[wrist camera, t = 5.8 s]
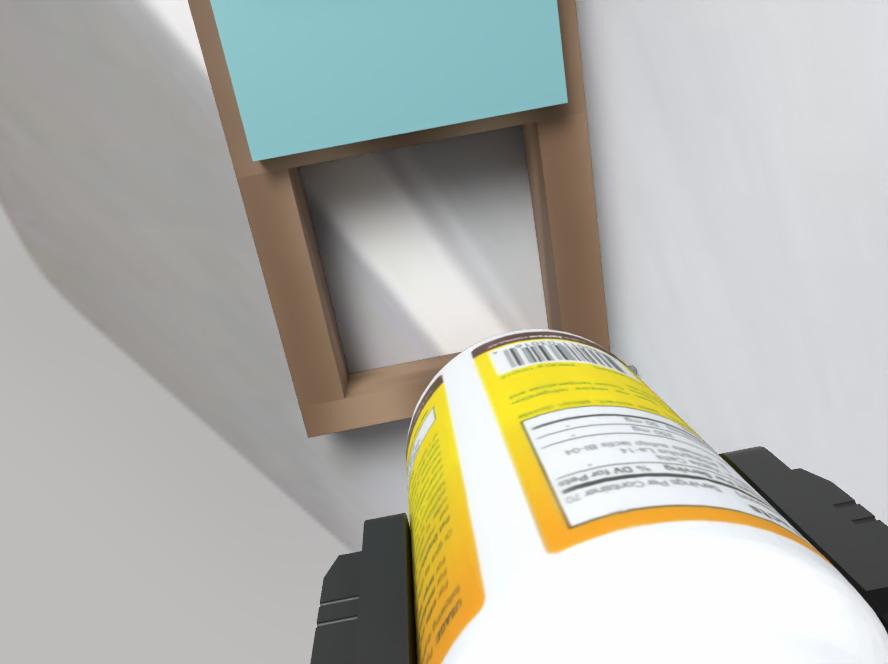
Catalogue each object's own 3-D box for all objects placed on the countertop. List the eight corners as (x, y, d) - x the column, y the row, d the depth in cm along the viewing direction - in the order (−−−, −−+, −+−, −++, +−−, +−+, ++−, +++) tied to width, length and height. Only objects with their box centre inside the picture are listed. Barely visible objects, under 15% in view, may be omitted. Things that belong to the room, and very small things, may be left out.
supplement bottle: (486, 575, 16) (641, 1308, 6) (357, 406, 14) (273, 1038, 4) (682, 460, 15) (1214, 1062, 5) (572, 271, 13) (1051, 640, 4)
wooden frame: (535, -166, 24) (554, -206, 21) (592, 355, 31) (612, 376, 28) (178, -104, 24) (150, -136, 21) (315, 409, 31) (308, 437, 28)
